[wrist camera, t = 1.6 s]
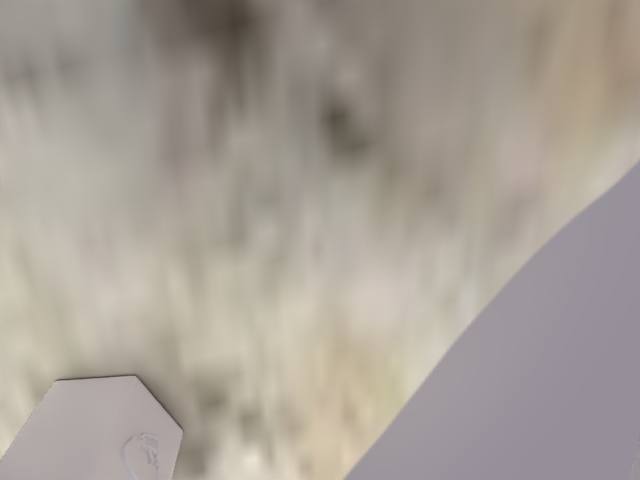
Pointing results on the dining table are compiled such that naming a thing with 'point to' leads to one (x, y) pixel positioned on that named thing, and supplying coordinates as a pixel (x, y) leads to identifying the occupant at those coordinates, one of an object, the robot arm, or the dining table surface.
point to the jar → (95, 434)
